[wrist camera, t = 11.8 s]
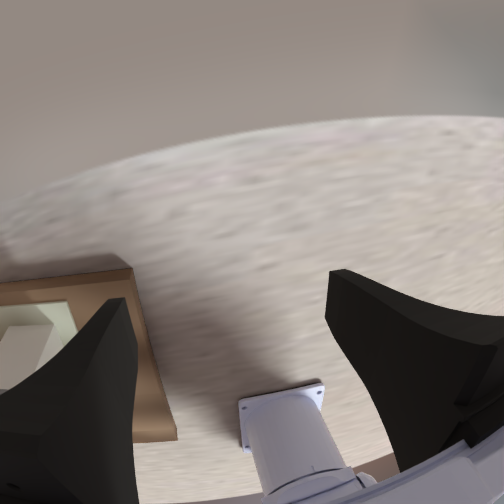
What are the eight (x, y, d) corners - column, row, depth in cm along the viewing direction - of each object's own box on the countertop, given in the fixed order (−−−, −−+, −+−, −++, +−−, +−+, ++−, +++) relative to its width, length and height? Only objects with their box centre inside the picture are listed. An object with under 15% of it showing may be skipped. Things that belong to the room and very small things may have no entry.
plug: (75, 369, 20) (57, 447, 14) (29, 369, 19) (4, 440, 13) (55, 322, 18) (24, 401, 12) (7, 325, 17) (-30, 395, 11)
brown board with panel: (176, 428, 27) (177, 442, 25) (32, 428, 24) (29, 441, 22) (132, 268, 20) (129, 281, 18) (-47, 288, 17) (-57, 299, 15)
